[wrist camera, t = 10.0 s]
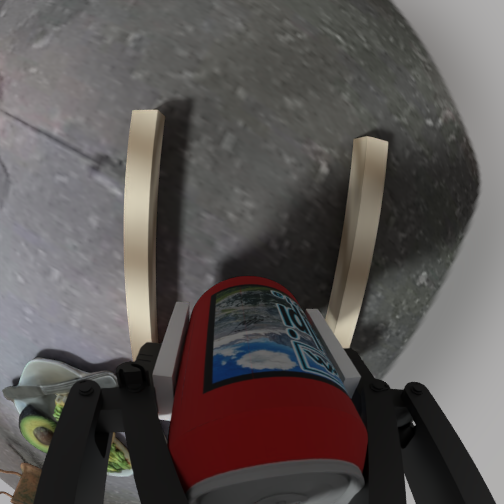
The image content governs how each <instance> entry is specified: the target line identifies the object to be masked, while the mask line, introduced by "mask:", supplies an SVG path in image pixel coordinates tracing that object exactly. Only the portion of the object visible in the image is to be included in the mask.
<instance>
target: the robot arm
mask: <svg viewBox="0 0 504 504" xmlns="http://www.w3.org/2000/svg"><path fill="white" fill-rule="evenodd" d="M305 315H306V317H307V319H308V321H309V322H310V324H311V326H312V328H313V329H314V331H315V333H316V335H317V337H318V338H319V340H320V342H321V344H322V345H323V347H324V349H325V351H326V353H327V355H328V357H329V358H330V360H331V362H332V364H333V366H334V368H335V369H336V371H337V373H338V375H339V377H340V379H341V381H342V383H343V385H344V386H345V388H346V390H347V392H348V394H349V396H350V398H351V400H352V402H353V404H354V406H355V408H356V410H357V412H358V414H359V416H360V418H361V420H362V422H363V424H364V426H365V428H366V430H367V434H368V445H367V452H366V458H365V464H364V469H363V473H362V475H363V478H364V481H365V485H364V487H363V488H362V489H361V490H360V491H359V492H358V493H356V494H355V495H354V497H353V498H352V499H351V500H350V502H349V503H348V504H406V491H405V480H404V474H405V476H406V479H407V481H408V484H409V487H410V489H411V492H412V494H413V497H414V500H415V502H416V504H496V503H495V501H494V499H493V497H492V495H491V493H490V491H489V489H488V487H487V485H486V484H485V482H484V480H483V478H482V476H481V474H480V472H479V471H478V469H477V467H476V465H475V464H474V462H473V460H472V458H471V457H470V455H469V453H468V452H467V450H466V448H465V447H464V445H463V443H462V442H461V440H460V438H459V437H458V435H457V433H456V432H455V430H454V429H453V427H452V425H451V424H450V422H449V421H448V419H447V418H446V416H445V414H444V413H443V412H442V410H441V408H440V407H439V405H438V404H437V402H436V401H435V399H434V398H433V396H432V395H431V393H430V392H429V390H428V389H427V388H426V387H425V386H424V385H423V384H421V383H418V382H410V383H408V384H407V385H406V386H405V388H404V390H398V389H390V387H389V385H388V384H387V383H386V382H384V381H382V380H379V379H375V378H374V377H373V375H372V374H371V372H370V371H369V369H368V368H367V366H366V365H365V363H364V362H363V360H361V358H360V356H359V355H358V353H357V352H355V351H354V350H352V349H351V348H343V347H342V346H341V344H340V343H339V341H338V339H337V338H336V336H335V335H334V333H333V332H332V330H331V329H330V327H329V326H328V324H327V322H326V321H325V319H324V318H323V316H322V315H321V313H320V312H319V310H318V309H306V311H305ZM188 326H189V303H188V302H176V304H175V307H174V310H173V313H172V316H171V319H170V322H169V324H168V327H167V330H166V333H165V336H164V339H163V343H162V344H161V343H152V342H146V343H145V344H144V345H143V346H142V347H141V348H140V350H139V353H138V355H137V357H136V360H135V362H126V363H123V364H121V365H119V366H118V368H117V369H116V377H117V382H118V387H113V388H101V387H100V386H99V384H98V383H97V382H95V381H93V380H90V379H83V380H79V381H77V382H76V383H74V384H73V386H72V387H71V389H70V392H69V394H68V397H67V399H66V402H65V404H64V407H63V409H62V412H61V414H60V417H59V420H58V423H57V425H56V428H55V431H54V434H53V437H52V439H51V442H50V445H49V449H48V452H47V455H46V458H45V461H44V465H43V468H42V472H41V475H40V479H39V483H38V486H37V490H36V494H35V499H34V503H33V504H103V502H104V492H105V483H106V476H107V468H108V461H109V455H110V449H111V443H112V437H113V433H114V432H125V435H126V441H127V446H128V452H129V457H130V461H131V466H132V470H133V475H134V479H135V483H136V487H137V490H138V494H139V498H140V501H141V504H189V503H188V500H187V498H186V496H185V493H184V491H183V488H182V486H181V483H180V480H179V478H178V475H177V472H176V470H175V467H174V464H173V461H172V458H171V455H170V452H169V449H168V446H167V443H166V440H165V437H164V434H163V430H162V427H161V423H160V420H167V421H171V414H172V407H173V401H174V395H175V390H176V384H177V379H178V373H179V368H180V363H181V358H182V353H183V348H184V343H185V339H186V334H187V330H188ZM159 419H160V420H159ZM413 420H414V422H415V424H416V426H414V425H413V423H412V422H413Z"/></svg>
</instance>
